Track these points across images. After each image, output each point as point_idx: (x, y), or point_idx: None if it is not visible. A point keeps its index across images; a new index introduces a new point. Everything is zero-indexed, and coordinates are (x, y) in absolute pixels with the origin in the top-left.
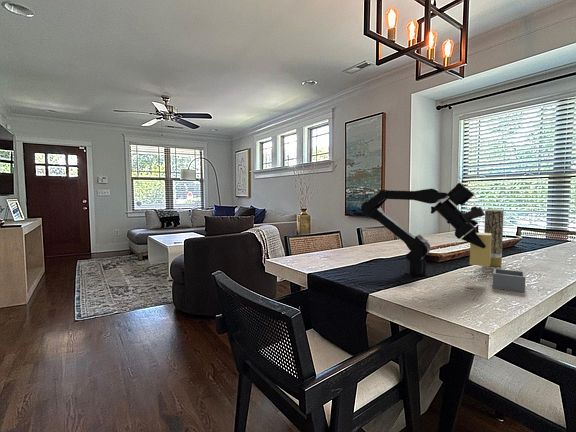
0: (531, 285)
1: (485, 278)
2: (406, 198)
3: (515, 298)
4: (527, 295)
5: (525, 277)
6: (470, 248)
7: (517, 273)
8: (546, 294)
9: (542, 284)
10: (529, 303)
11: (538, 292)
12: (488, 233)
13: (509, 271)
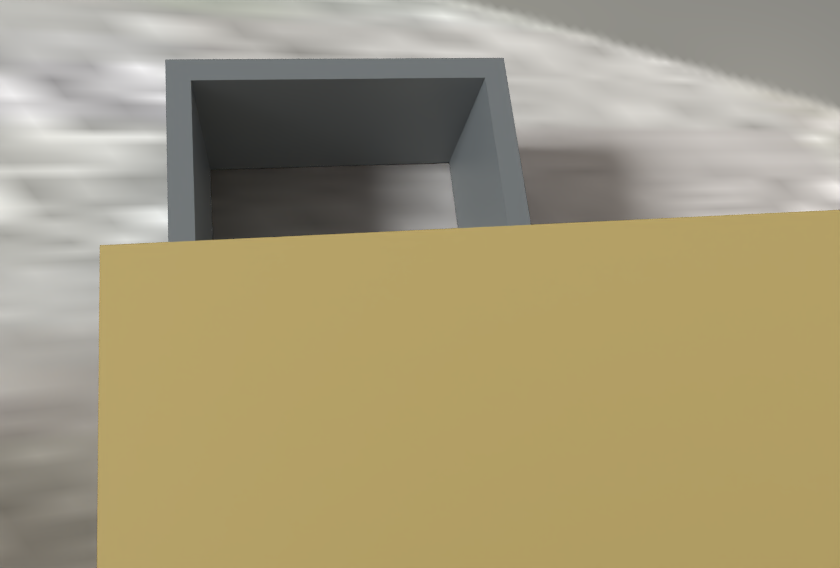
0: (122, 94)
1: (50, 560)
2: None
3: (720, 205)
4: (553, 128)
5: (501, 60)
6: None
7: (196, 145)
8: (408, 5)
9: (3, 7)
10: (777, 118)
11: (381, 53)
12: (239, 388)
13: (197, 223)
